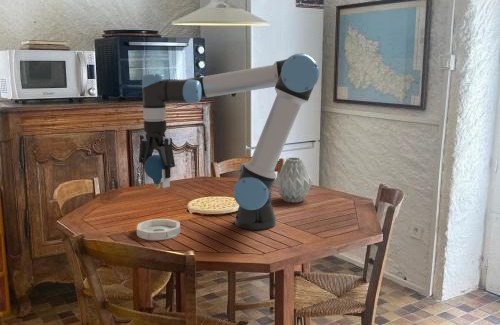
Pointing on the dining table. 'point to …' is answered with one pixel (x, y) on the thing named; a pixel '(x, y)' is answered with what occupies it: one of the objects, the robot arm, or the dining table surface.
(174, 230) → the lamp base
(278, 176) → the vase
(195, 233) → the dining table surface
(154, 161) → the light bulb
